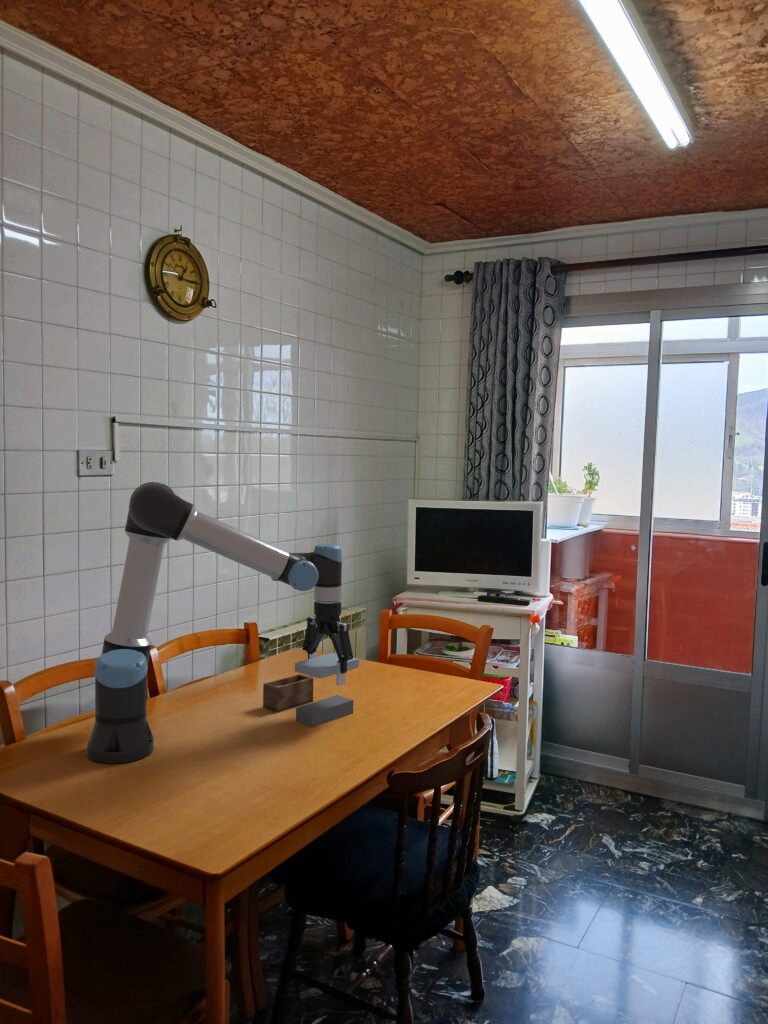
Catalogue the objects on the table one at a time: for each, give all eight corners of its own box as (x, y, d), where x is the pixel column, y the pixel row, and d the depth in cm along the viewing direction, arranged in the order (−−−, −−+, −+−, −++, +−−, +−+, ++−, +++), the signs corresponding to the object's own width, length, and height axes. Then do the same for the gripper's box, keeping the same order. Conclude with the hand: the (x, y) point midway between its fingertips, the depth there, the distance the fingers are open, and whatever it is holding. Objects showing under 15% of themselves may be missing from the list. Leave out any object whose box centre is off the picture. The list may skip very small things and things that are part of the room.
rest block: (312, 727, 202) (312, 713, 202) (295, 721, 207) (296, 707, 206) (353, 712, 215) (353, 700, 214) (336, 707, 219) (337, 695, 218)
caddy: (276, 712, 213) (277, 688, 213) (262, 707, 217) (263, 683, 216) (312, 701, 224) (313, 678, 223) (298, 696, 228) (299, 674, 227)
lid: (320, 678, 201) (320, 669, 201) (294, 671, 207) (294, 662, 207) (358, 667, 212) (358, 659, 212) (333, 660, 219) (333, 652, 218)
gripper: (367, 604, 204) (366, 685, 205) (308, 593, 218) (308, 669, 220) (348, 608, 198) (347, 692, 200) (289, 597, 213) (289, 675, 214)
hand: (326, 680), depth 210 cm, fingers closed on lid, 10 cm apart
